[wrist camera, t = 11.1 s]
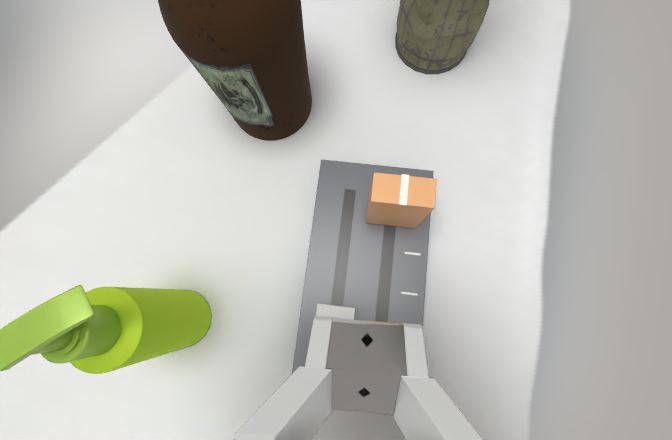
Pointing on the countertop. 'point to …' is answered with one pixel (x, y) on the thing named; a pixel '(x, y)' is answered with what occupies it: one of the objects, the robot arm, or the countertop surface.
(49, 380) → the countertop surface
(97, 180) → the countertop surface
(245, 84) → the olive oil
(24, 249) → the countertop surface
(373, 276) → the console
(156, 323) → the soap dispenser
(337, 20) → the countertop surface
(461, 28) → the thermos
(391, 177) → the fader lever
